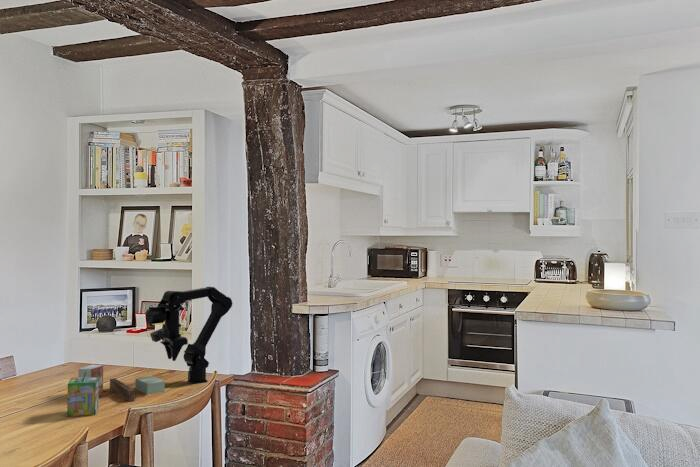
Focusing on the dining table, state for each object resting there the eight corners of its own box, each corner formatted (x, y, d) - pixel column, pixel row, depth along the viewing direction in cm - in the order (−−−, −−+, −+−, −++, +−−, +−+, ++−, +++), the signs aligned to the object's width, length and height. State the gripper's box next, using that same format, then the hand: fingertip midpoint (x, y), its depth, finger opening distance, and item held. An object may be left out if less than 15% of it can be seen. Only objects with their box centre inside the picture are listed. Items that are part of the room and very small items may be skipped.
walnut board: (115, 388, 239) (115, 378, 239) (134, 400, 220) (134, 390, 220) (109, 388, 237) (109, 378, 237) (129, 401, 219) (129, 391, 219)
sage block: (152, 386, 242) (152, 375, 242) (164, 392, 233) (164, 381, 233) (135, 389, 238) (135, 378, 238) (147, 395, 229) (147, 383, 229)
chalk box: (71, 410, 208) (71, 368, 208) (99, 408, 211) (99, 366, 211) (66, 417, 199) (66, 373, 199) (95, 415, 202) (95, 372, 202)
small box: (90, 396, 226) (91, 369, 226) (77, 395, 227) (78, 368, 227) (103, 391, 234) (103, 364, 234) (91, 390, 235) (91, 364, 235)
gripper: (144, 320, 244) (144, 358, 243) (161, 326, 229) (160, 366, 229) (170, 318, 250) (170, 355, 250) (188, 323, 236) (188, 362, 236)
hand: (171, 359), depth 241 cm, fingers open, 4 cm apart
